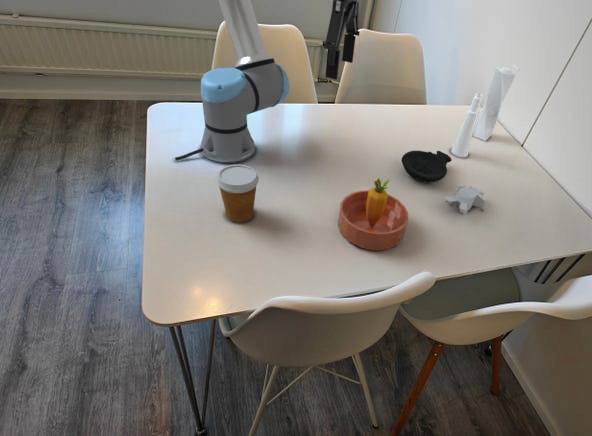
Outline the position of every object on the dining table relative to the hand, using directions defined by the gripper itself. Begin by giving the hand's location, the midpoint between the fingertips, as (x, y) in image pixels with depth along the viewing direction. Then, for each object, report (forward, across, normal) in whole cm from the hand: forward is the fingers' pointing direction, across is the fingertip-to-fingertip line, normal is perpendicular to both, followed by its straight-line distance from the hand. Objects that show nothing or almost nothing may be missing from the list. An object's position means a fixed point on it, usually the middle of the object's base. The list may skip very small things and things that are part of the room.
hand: (339, 69), depth 100 cm
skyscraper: (+32, +53, -46) cm, 77 cm away
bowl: (+32, -19, -18) cm, 41 cm away
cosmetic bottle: (+32, +34, -38) cm, 60 cm away
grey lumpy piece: (+32, +3, -41) cm, 52 cm away
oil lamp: (+32, +15, -28) cm, 45 cm away
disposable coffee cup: (+32, -27, +14) cm, 44 cm away
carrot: (+31, -19, -18) cm, 40 cm away
